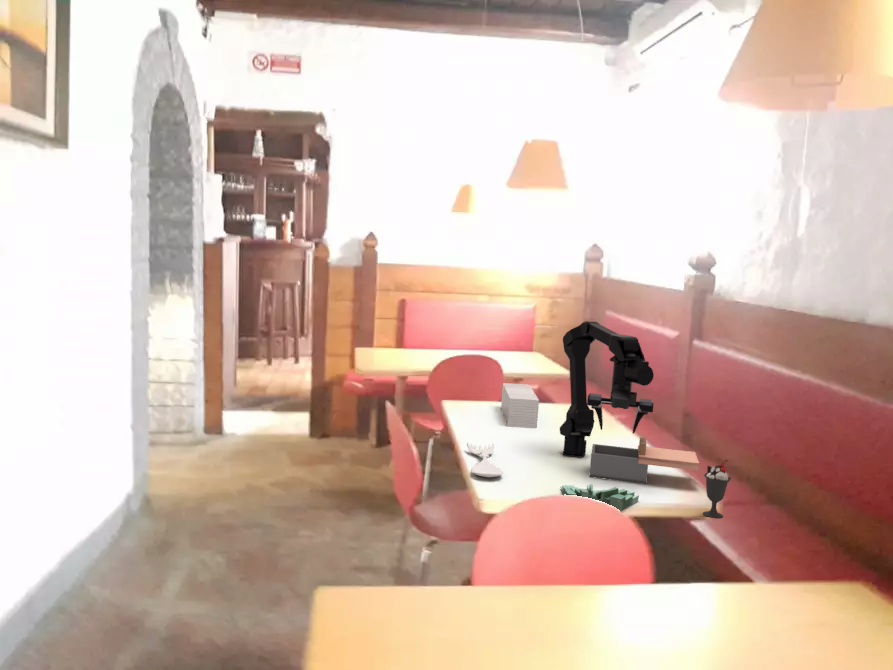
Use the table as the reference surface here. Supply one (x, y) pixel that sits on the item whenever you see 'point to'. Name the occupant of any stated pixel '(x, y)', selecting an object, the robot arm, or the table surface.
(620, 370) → the robot arm
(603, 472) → the base
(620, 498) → the money
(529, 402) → the stack of papers
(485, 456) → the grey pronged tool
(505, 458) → the table surface
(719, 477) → the sundae
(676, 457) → the lid
